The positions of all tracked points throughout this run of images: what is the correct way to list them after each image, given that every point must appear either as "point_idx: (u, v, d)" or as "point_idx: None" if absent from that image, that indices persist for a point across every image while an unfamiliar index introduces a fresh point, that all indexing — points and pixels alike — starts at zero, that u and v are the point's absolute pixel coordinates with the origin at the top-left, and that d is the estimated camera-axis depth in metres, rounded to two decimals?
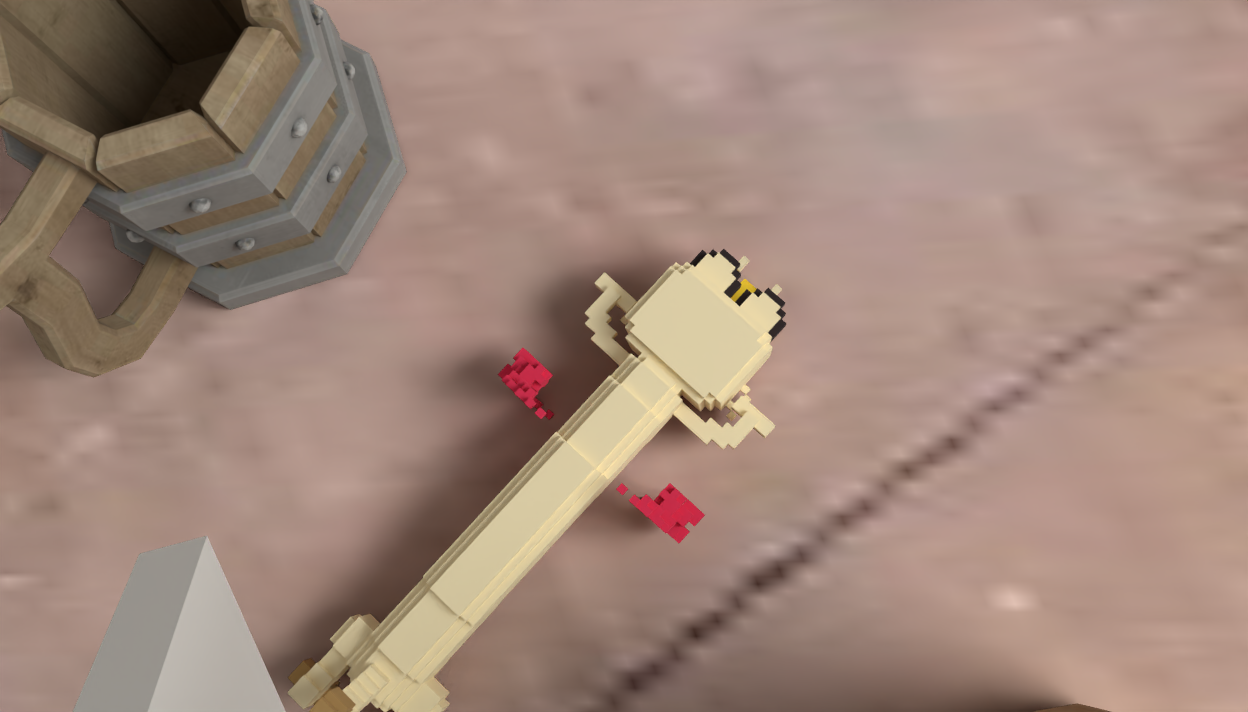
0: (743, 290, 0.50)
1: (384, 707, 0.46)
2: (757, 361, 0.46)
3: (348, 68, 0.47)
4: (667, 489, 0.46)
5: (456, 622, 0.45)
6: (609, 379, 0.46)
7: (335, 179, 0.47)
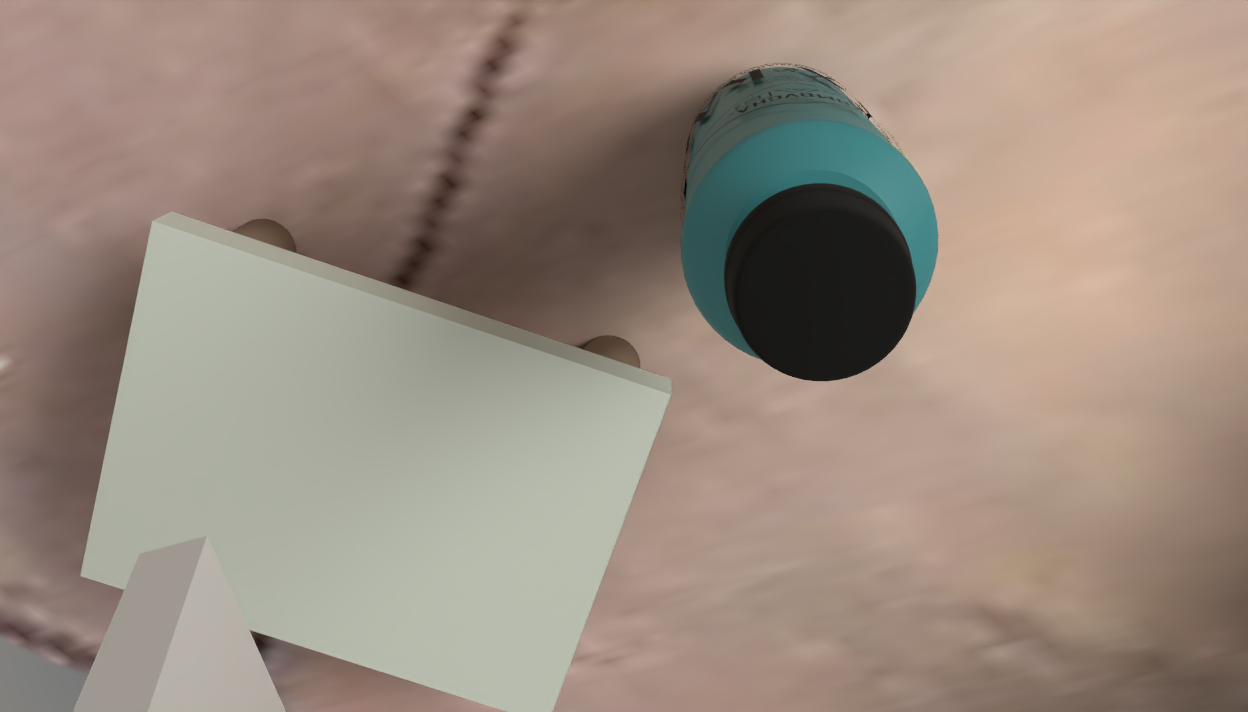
0: None
1: None
2: None
3: None
4: None
5: None
6: None
7: None
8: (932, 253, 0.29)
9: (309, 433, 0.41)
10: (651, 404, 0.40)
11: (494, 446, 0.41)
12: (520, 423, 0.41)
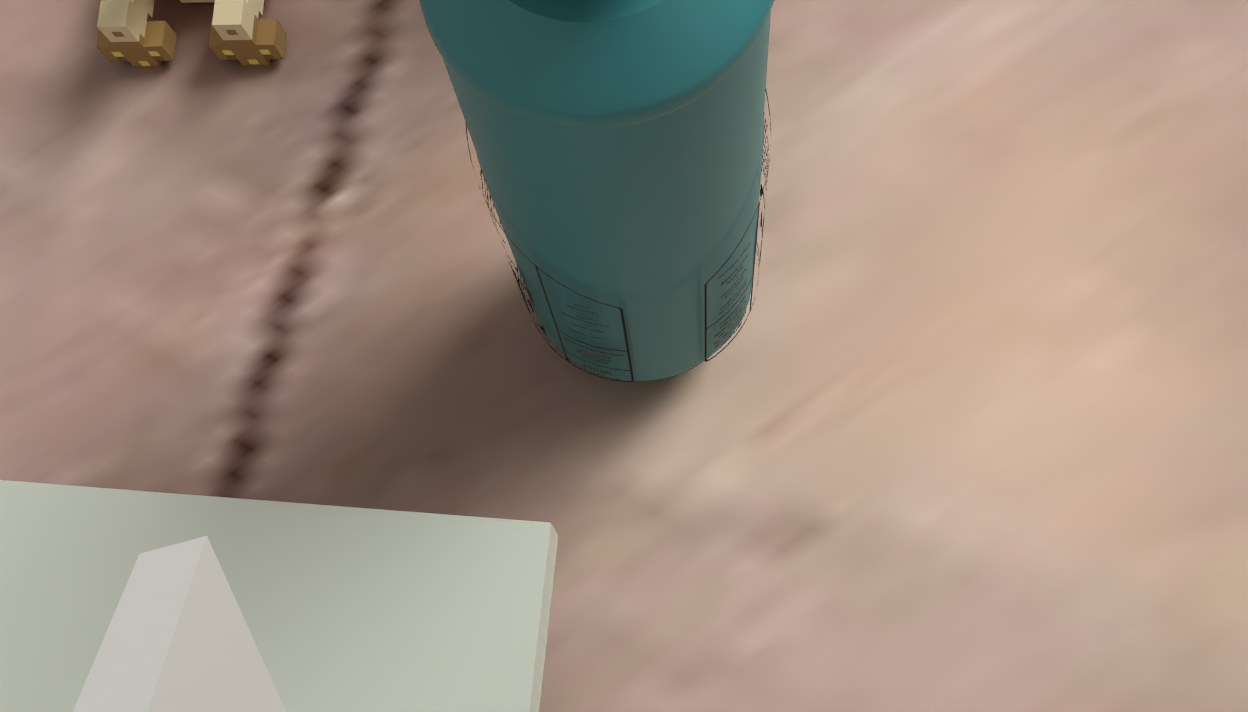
0: None
1: None
2: None
3: None
4: None
5: None
6: None
7: None
8: None
9: None
10: (525, 545, 0.26)
11: (293, 682, 0.25)
12: (330, 631, 0.26)
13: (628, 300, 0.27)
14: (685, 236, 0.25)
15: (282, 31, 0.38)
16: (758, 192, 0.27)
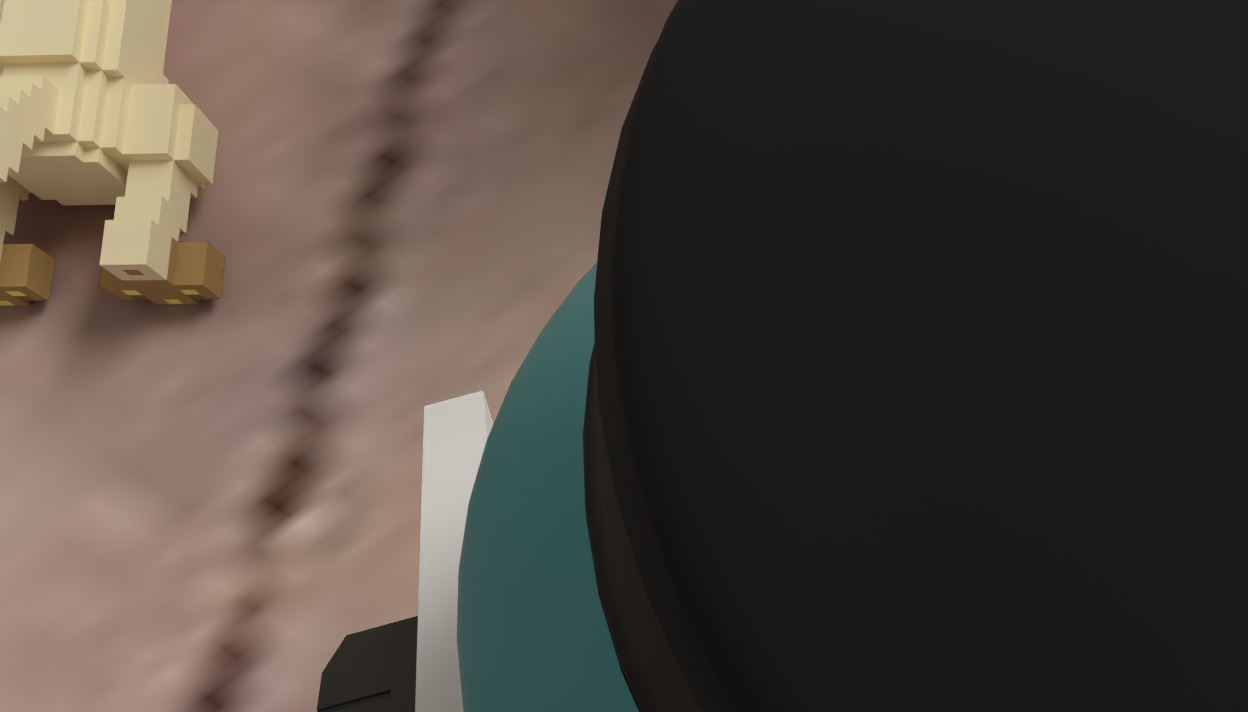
0: None
1: (91, 155, 0.23)
2: None
3: None
4: None
5: None
6: None
7: None
8: None
9: None
10: None
11: None
12: None
13: None
14: None
15: (217, 257, 0.24)
16: None
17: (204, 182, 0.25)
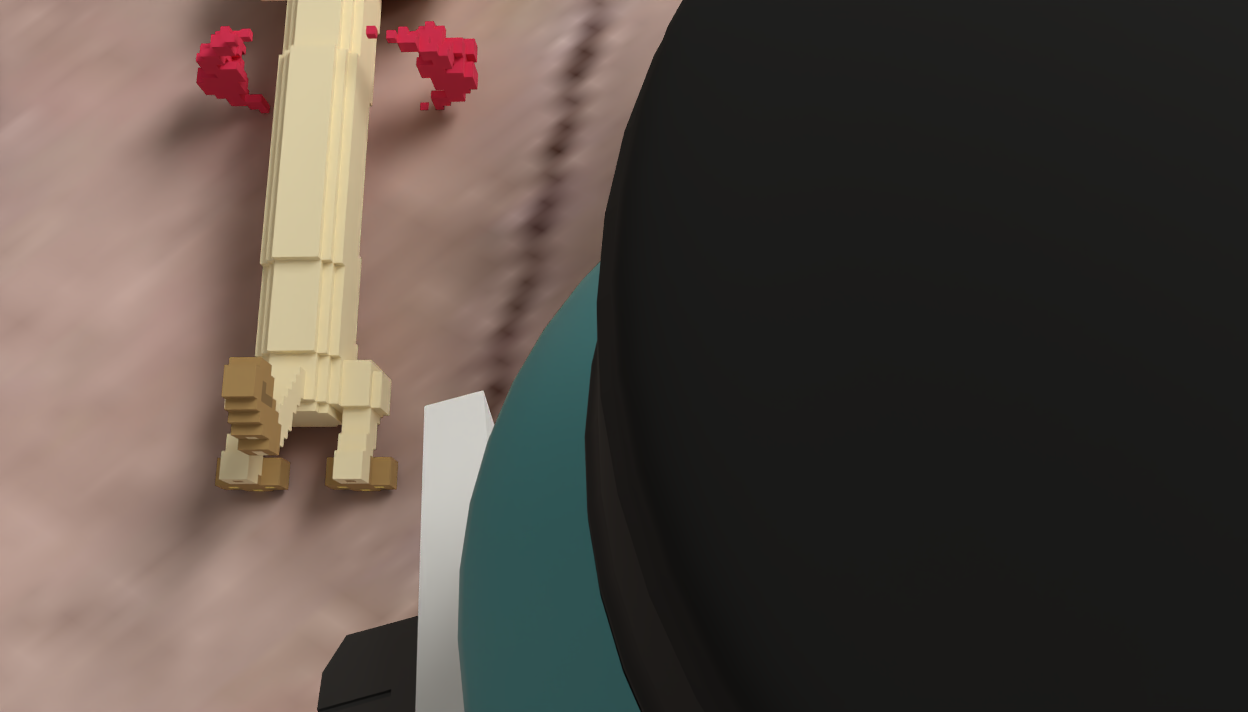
0: None
1: (323, 408, 0.38)
2: None
3: None
4: None
5: (324, 272, 0.38)
6: None
7: None
8: None
9: None
10: None
11: None
12: None
13: None
14: None
15: (395, 463, 0.39)
16: None
17: (384, 415, 0.39)
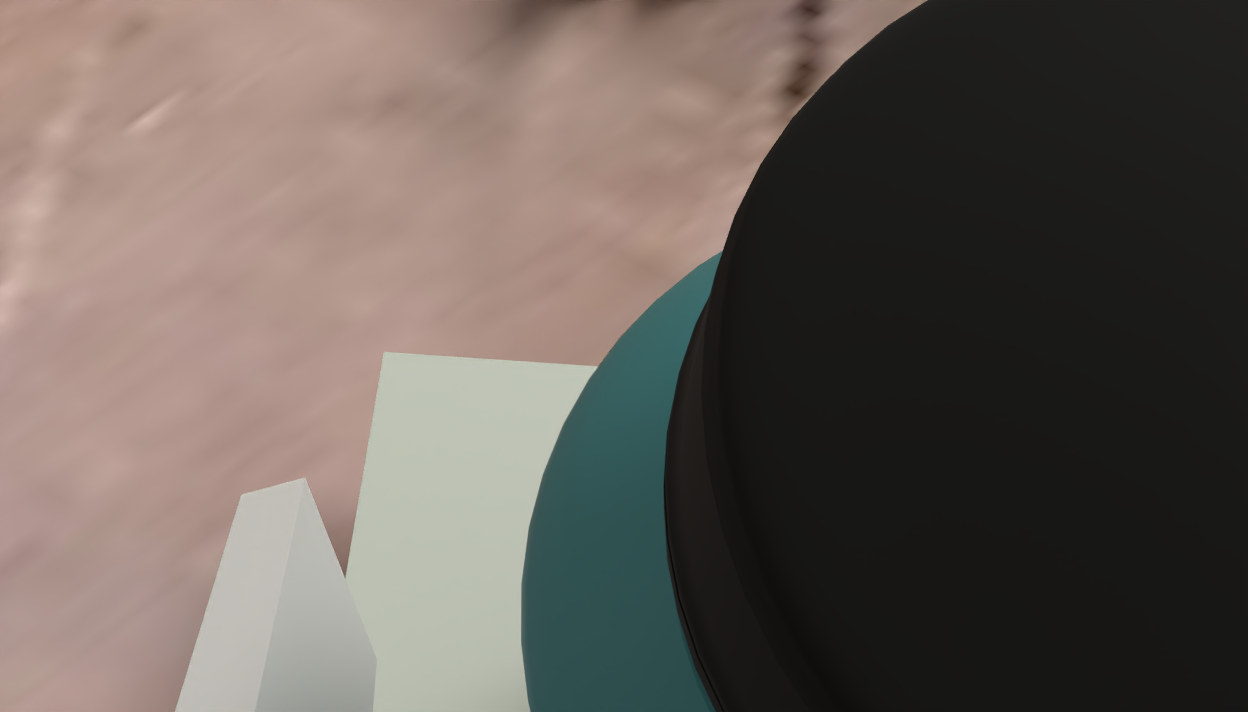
0: None
1: None
2: None
3: None
4: None
5: None
6: None
7: None
8: None
9: None
10: None
11: None
12: None
13: None
14: None
15: None
16: None
17: None
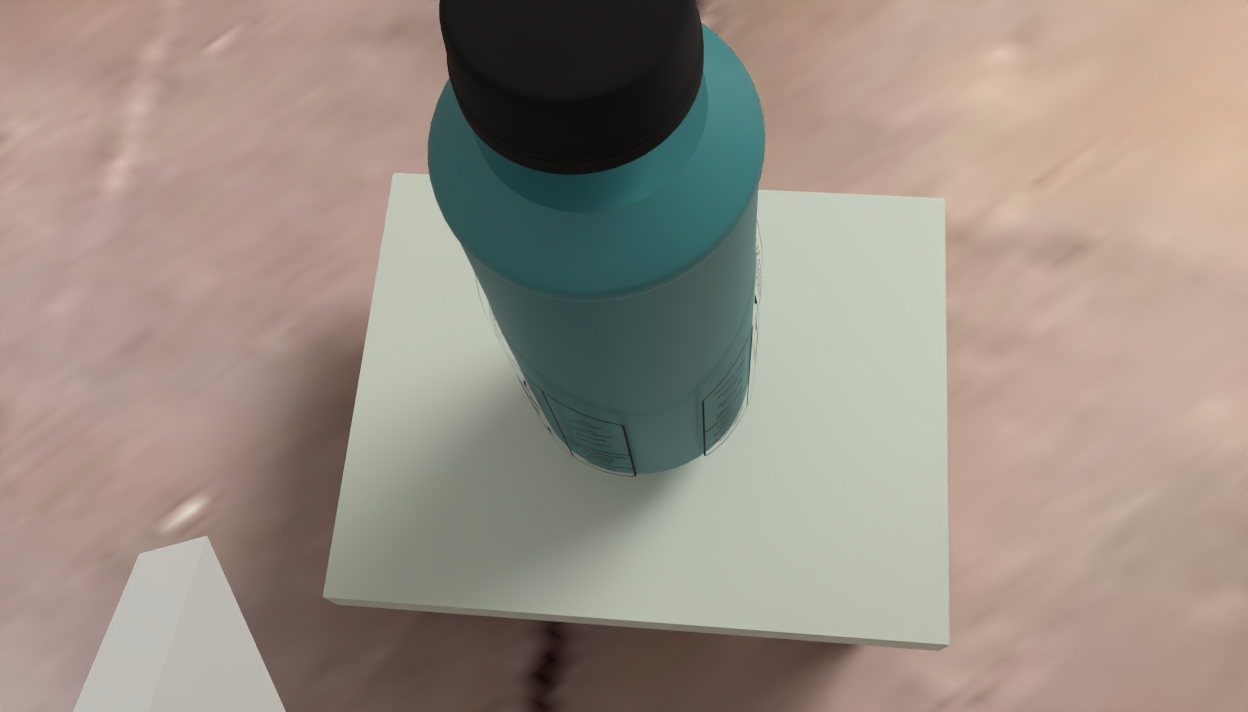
0: None
1: None
2: None
3: None
4: None
5: None
6: None
7: None
8: (749, 90, 0.22)
9: None
10: (928, 213, 0.38)
11: (780, 300, 0.37)
12: (800, 268, 0.37)
13: (629, 417, 0.28)
14: (683, 367, 0.26)
15: None
16: (752, 312, 0.29)
17: None
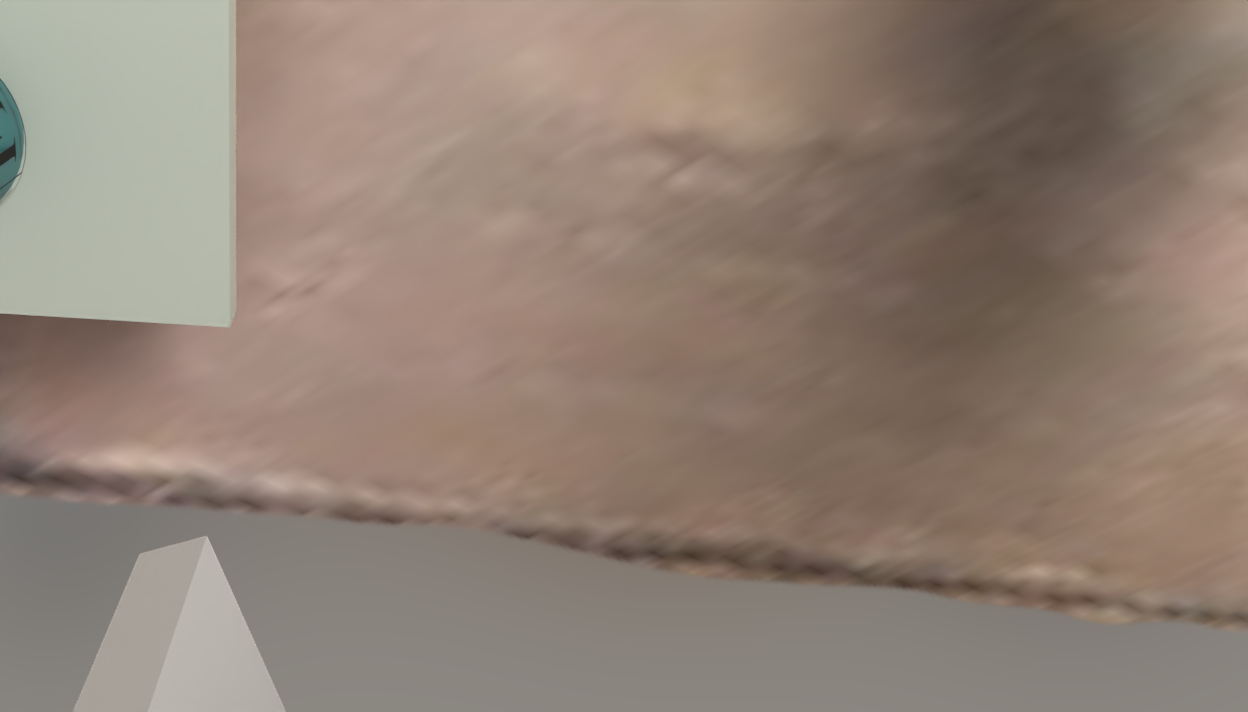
0: None
1: None
2: None
3: None
4: None
5: None
6: None
7: None
8: None
9: None
10: None
11: (66, 29, 0.39)
12: None
13: None
14: None
15: None
16: None
17: None
